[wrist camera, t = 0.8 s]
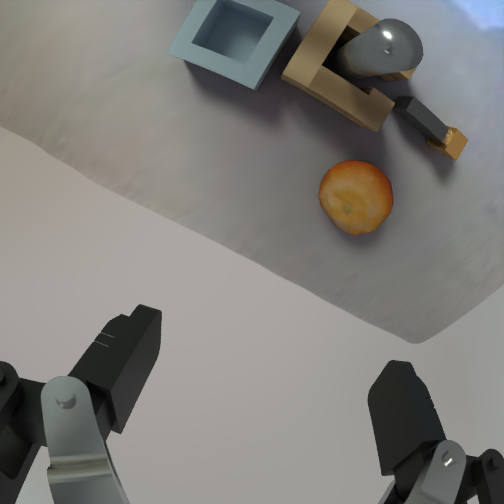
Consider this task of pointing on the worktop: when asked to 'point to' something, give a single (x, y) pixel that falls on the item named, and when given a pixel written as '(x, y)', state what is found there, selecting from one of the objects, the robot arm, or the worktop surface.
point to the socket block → (330, 84)
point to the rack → (235, 37)
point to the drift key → (431, 127)
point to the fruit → (356, 196)
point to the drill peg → (378, 51)
